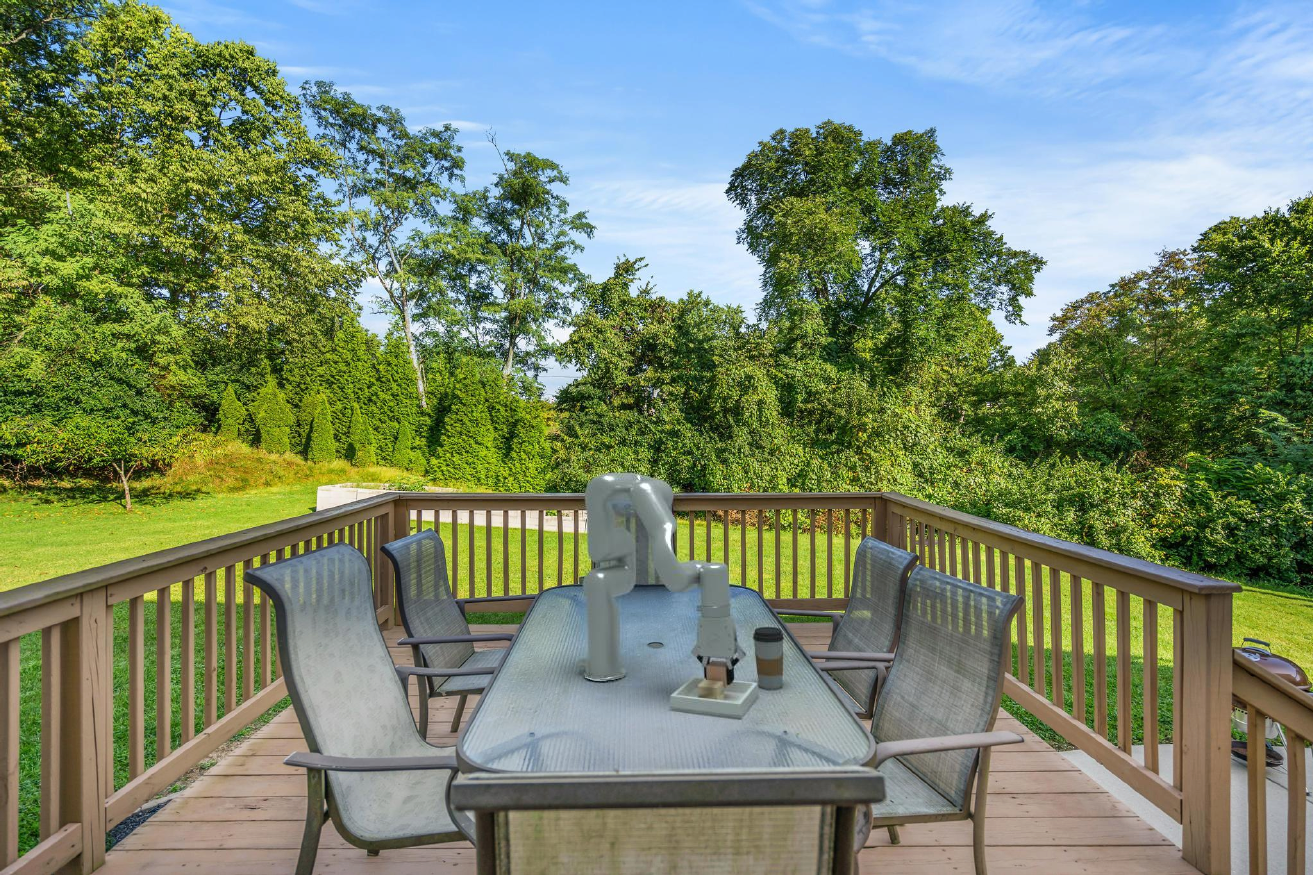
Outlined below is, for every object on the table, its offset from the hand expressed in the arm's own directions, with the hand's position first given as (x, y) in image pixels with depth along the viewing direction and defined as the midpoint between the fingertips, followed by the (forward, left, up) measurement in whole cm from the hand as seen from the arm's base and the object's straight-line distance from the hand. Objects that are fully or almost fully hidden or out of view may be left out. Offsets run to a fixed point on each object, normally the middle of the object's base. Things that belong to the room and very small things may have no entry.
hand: (719, 681), depth 161 cm
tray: (0, -3, -5) cm, 5 cm away
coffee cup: (+10, +14, -5) cm, 18 cm away
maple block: (0, -6, -4) cm, 7 cm away
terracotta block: (0, 0, 0) cm, 0 cm away
